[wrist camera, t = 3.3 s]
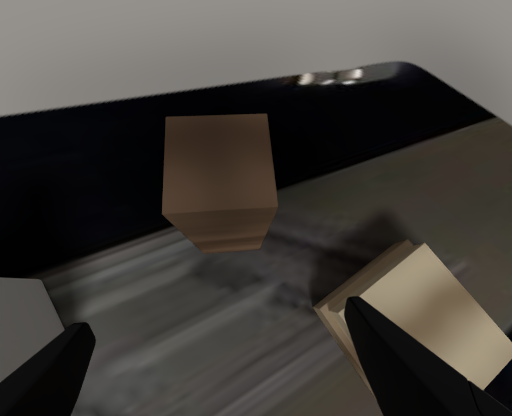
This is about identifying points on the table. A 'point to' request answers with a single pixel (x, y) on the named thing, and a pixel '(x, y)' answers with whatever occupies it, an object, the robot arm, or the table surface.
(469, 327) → the plinth
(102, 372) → the table surface
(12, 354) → the medicine bottle
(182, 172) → the walnut block
